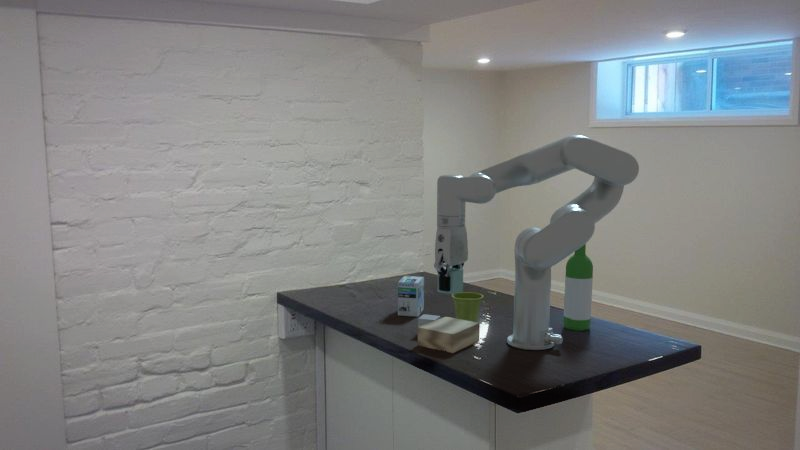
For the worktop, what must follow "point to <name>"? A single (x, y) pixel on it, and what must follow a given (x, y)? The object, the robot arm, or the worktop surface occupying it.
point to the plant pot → (467, 305)
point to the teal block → (453, 281)
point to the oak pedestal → (448, 334)
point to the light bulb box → (410, 296)
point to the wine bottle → (578, 291)
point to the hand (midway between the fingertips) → (450, 288)
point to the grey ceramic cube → (427, 319)
